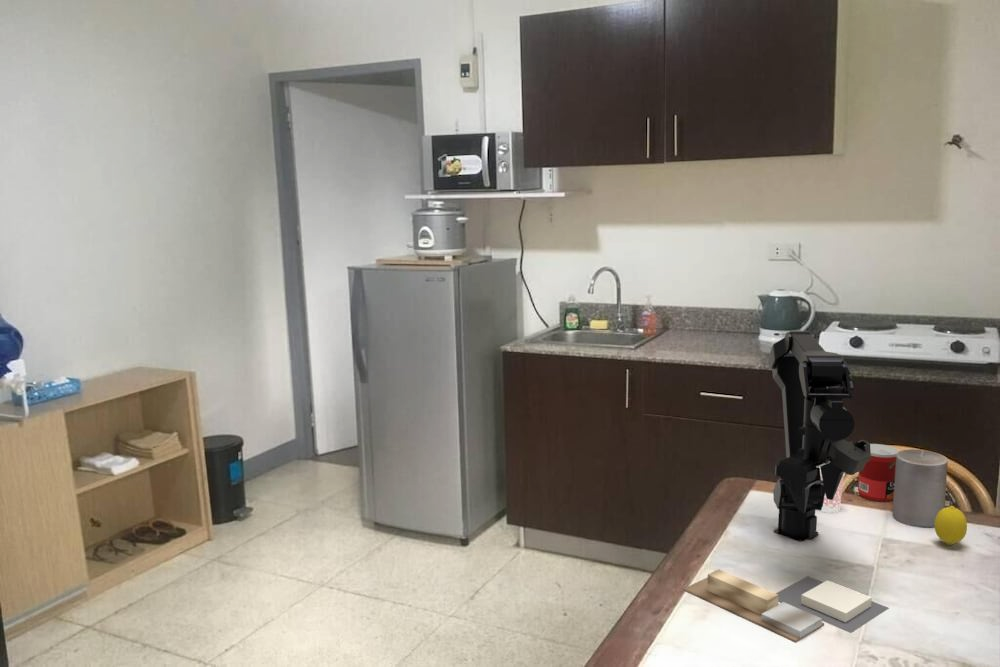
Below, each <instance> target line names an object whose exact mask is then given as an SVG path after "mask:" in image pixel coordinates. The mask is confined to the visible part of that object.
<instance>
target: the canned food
mask: <svg viewBox="0 0 1000 667" xmlns="http://www.w3.org/2000/svg"><path fill="white" fill-rule="evenodd" d="M870 450H871V455H870V457H871V460H870V461H868V462H866V464H865V466H864V468H863V470H862V471H861V472H860V471H859V472H858V479H857V480H858V482H857V483H858V484H857V491H858V494H859V496H860V497H862V498H864V499H867V500H869V501H873V502H874V501H875V502H879V503H880V502H883V503H885V502H893V500H894V484H895V468H896V455H897V453H898V452H899V449H898V448H896V447H893V446H891V445H888V444H887V445H886V444H882V443H880V444H879V443H870Z"/></svg>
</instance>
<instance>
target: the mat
mask: <svg viewBox="0 0 1000 667" xmlns="http://www.w3.org/2000/svg"><path fill="white" fill-rule="evenodd" d="M823 582H824V581H822V580H819V579H816V578H814V577H811V576H809V575H807V576H805V577H803V578H801V579H799V580H798V581H796V582H793V583H792V584H790V585H789V586H787V587H785V588H783V589H781V590H779V591H778V592H775V594H778V603H779V604H780V603H782V602H785V603H787V604H789V605H792V606H794V607H796V608H799V609H801V610H803V611H805V612H808V613H810V614H812V615H815V616H817V617H819V618H822V622H823V623H826V624H828V625H831V626H833V627H836V628H838V629H841V630H842V631H845V632H848V633H850V634H852V633H854V632H855V631H856V630H858V629H860V628H861V627H862V626H864V625H866V624H867V623H869V622H870V621H872V620H873V619H876V617H879V615H881V614H882V613H884V612H885V611H887V610H889V609H890V608H889V607H888V606H885V605H883V604H880V603H879V602H875V601H873V600H872V601H871V607H869V608H868V609H866V610H864V611H863V612H861V613H860V614H858V615H857V616H855V617H853V618H852V619H850V620H849V621H847V622H843V621H841V620H838V619H836V618H834V617H831V616H829V615H827V614H824V613H822V612H820V611H817V610H815V609H812V608H810V607H808V606H805V605H803V604H801V595H802V594H804V593H806V592H807V591H809V590H811V589H813V588H815V587H816V586H818V585H820V584H822V583H823Z"/></svg>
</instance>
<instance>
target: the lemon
mask: <svg viewBox="0 0 1000 667" xmlns="http://www.w3.org/2000/svg"><path fill="white" fill-rule="evenodd" d="M967 527H968V523H967V519H966V516H965V515H964V513H963V512H962V511H961V510H960V509H959V508H956V507H955V506H953V505H950V506H947V507H946V506H945V508H943V509H942V510H940V511H939V512H938V514H937V516H936V519H935V527H934V531H935V533H936V535H937V537H938V538H939V539H940V540H941V541H942V542H945V543H946V545H947V546H953V545H954V544H957V543H959V542H961V541H962V540H963V539H964V538H965V537H966V535H967V530H968V528H967Z"/></svg>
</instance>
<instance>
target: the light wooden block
mask: <svg viewBox="0 0 1000 667" xmlns="http://www.w3.org/2000/svg"><path fill="white" fill-rule="evenodd" d="M707 577H708V585H707V591H710V592H712V593H714V594H716V595H718V596H721V597H723V598H725V599H727V600H729V601H732V602H734V603H736V604H738V605H740V606H743V607H745V608H747V609H749V610H751V611H754V612H756V613H758V614H760V615H762V617H761V621H763V622H765V623H768V624H770V625H772V626H774V627H776V628H778V629H781V630H783V631H785V632H787V633H789V634H791V635H794V636H796V637H798V638H802V637H803V636H805V635H806V634H808V633H810V632H811V631H813V630H815V629H816V628H818V627H820V626H821V622H823V621H822V618H819V617H817V616H815V615H812V614H810V613H808V612H805V611H803V610H801V609H799V608H796V607H794V606H792V605H789V604H787V603H785V602H782V603H780V602H778V594H776V592H773V591H770V590H768V589H766V588H763V587H761V586H759V585H756V584H755V583H752V582H750V581H747V580H745V579H743V578H740V577H738V576H736V575H734V574H731V573H728V572H726V571H724V570H721V569H716V570H714V571H712V572H710V573H708V574H707ZM778 603H779V604H778ZM820 628H821V627H820Z"/></svg>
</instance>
